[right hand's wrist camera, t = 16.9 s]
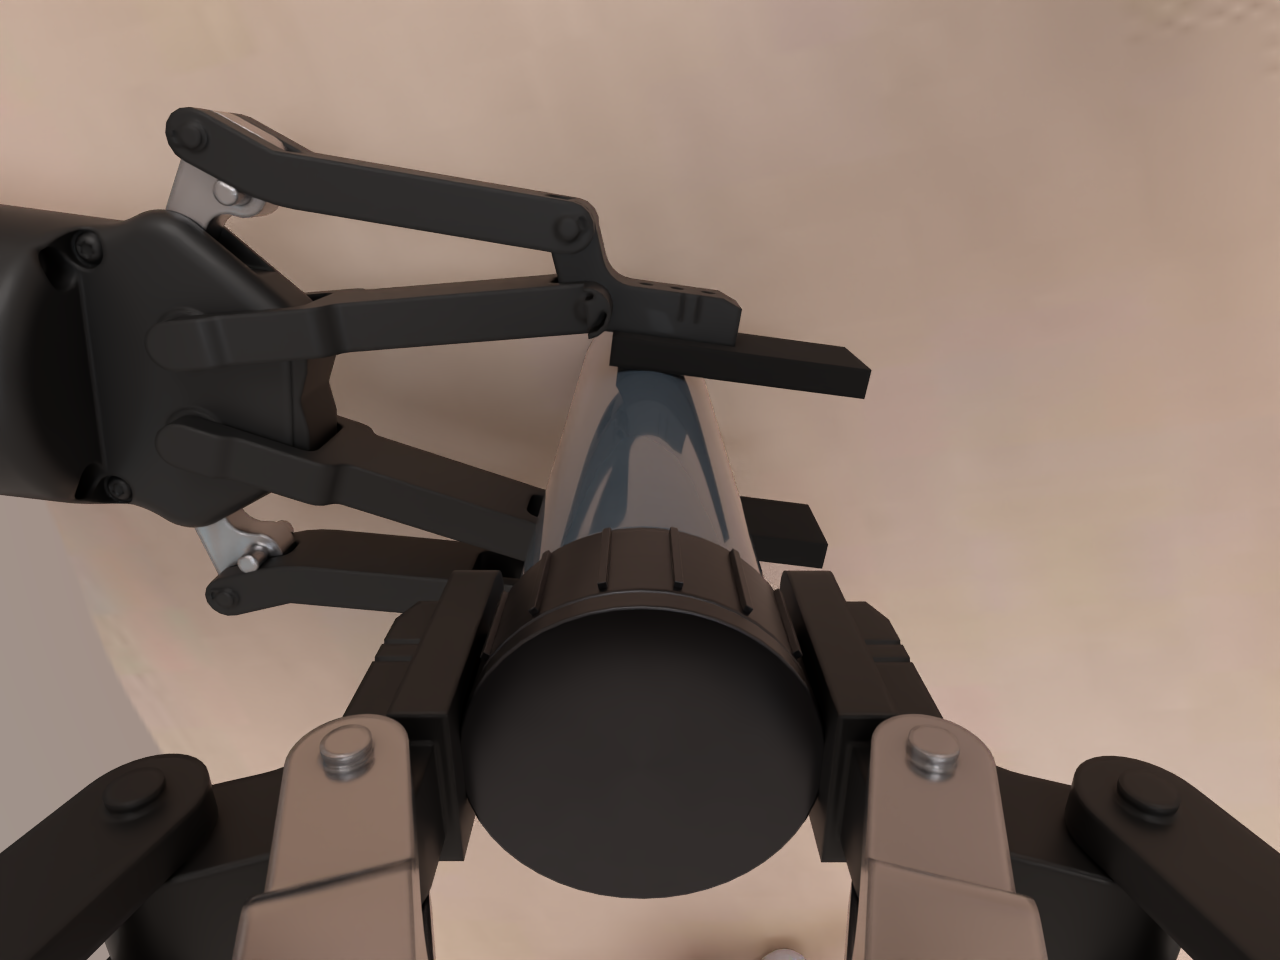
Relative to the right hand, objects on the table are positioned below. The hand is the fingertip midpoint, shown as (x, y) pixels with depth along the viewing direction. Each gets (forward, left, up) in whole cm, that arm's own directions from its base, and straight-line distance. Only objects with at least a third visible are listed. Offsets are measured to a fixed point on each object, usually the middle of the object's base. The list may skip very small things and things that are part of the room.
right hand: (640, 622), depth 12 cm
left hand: (-2, -5, -10) cm, 11 cm away
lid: (0, 0, +3) cm, 3 cm away
